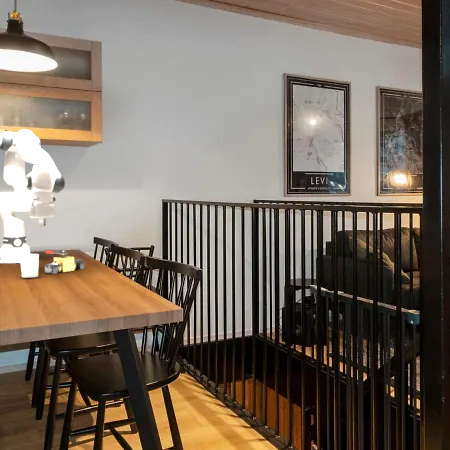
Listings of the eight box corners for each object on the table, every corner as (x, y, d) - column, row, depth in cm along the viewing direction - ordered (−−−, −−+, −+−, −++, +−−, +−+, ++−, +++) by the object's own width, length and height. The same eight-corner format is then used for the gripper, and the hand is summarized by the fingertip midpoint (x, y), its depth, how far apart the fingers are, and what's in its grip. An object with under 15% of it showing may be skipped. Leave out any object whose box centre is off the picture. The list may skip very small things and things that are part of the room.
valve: (52, 275, 222) (52, 257, 221) (43, 274, 225) (42, 256, 225) (85, 269, 239) (85, 253, 238) (76, 268, 242) (76, 252, 242)
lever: (68, 254, 232) (68, 251, 232) (63, 255, 229) (63, 251, 229) (50, 252, 239) (50, 249, 239) (45, 253, 236) (45, 250, 236)
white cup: (32, 278, 210) (32, 256, 210) (16, 277, 212) (16, 255, 211) (42, 275, 218) (42, 254, 218) (27, 275, 220) (27, 253, 219)
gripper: (38, 198, 218) (39, 228, 218) (57, 198, 238) (58, 225, 239) (25, 198, 218) (26, 228, 219) (45, 198, 238) (46, 225, 239)
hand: (42, 226), depth 229 cm, fingers closed
